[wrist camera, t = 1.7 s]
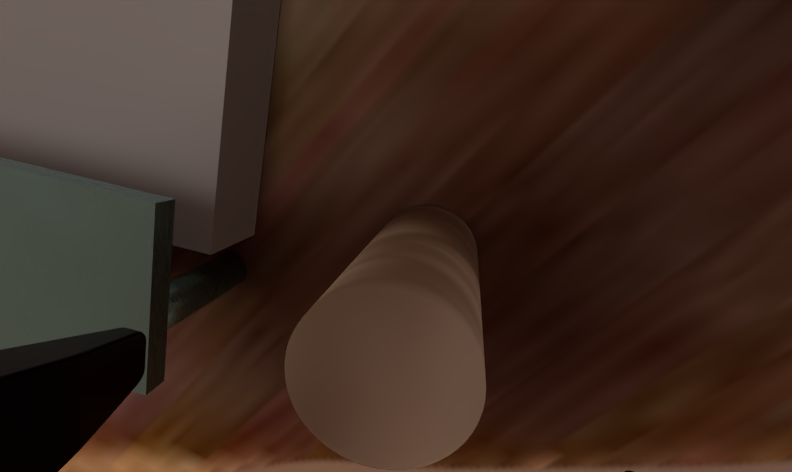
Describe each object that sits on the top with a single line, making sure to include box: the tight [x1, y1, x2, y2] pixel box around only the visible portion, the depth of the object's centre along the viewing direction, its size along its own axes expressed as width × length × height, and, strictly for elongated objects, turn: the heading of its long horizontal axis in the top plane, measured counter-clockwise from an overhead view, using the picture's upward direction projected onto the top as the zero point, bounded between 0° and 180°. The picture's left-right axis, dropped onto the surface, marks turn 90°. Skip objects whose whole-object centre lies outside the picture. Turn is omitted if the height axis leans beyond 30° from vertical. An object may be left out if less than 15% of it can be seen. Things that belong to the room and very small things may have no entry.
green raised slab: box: [0, 157, 246, 395], centre depth 17 cm, size 14×6×8 cm, turn 78°
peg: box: [284, 205, 486, 470], centre depth 14 cm, size 4×4×10 cm
